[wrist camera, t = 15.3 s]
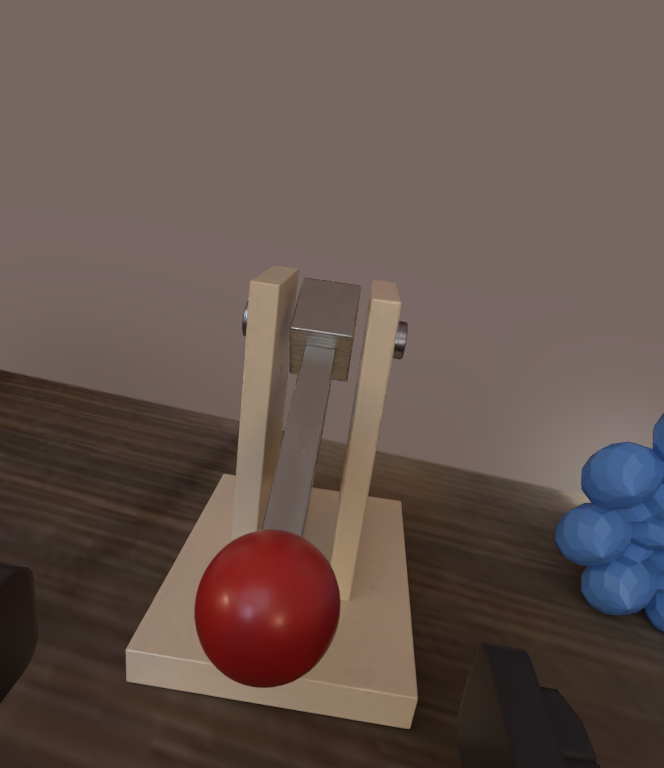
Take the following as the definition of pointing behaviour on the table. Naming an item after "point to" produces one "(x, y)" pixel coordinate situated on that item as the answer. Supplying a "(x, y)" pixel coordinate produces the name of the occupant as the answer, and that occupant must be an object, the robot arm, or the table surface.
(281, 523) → the power lever
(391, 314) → the switch bracket
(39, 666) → the table surface
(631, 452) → the grapes
